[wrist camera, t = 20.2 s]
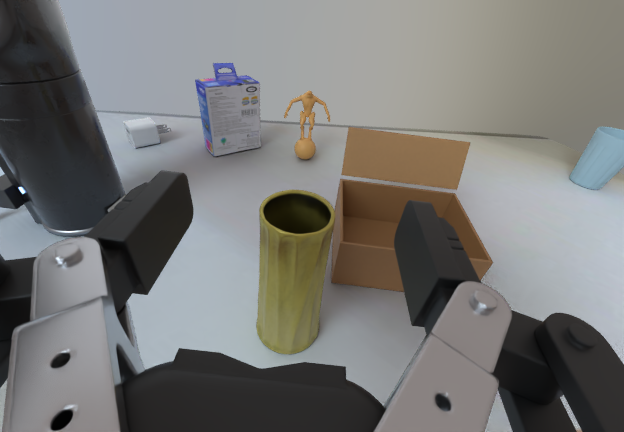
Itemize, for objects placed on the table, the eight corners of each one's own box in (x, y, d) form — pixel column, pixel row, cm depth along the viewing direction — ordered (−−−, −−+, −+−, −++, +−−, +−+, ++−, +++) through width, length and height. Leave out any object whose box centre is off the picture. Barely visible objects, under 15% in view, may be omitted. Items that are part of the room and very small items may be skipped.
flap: (348, 127, 37) (348, 126, 37) (341, 174, 39) (341, 174, 39) (470, 142, 37) (469, 142, 37) (457, 189, 39) (456, 189, 39)
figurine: (282, 161, 54) (284, 95, 47) (283, 147, 59) (285, 84, 52) (326, 164, 55) (335, 99, 48) (323, 150, 60) (332, 89, 52)
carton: (331, 282, 33) (340, 243, 29) (333, 215, 43) (340, 178, 39) (466, 299, 33) (493, 262, 29) (437, 228, 43) (455, 193, 39)
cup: (597, 196, 56) (641, 146, 50) (556, 177, 61) (590, 128, 54) (613, 188, 59) (655, 140, 53) (572, 170, 64) (607, 124, 58)
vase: (309, 364, 26) (332, 251, 17) (245, 343, 27) (235, 226, 18) (324, 307, 31) (348, 196, 22) (270, 291, 32) (272, 178, 23)
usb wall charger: (128, 141, 55) (122, 120, 52) (166, 133, 59) (162, 114, 56) (135, 149, 53) (129, 128, 50) (174, 141, 56) (170, 121, 54)
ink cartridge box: (249, 137, 61) (247, 60, 52) (262, 147, 58) (262, 68, 49) (203, 145, 56) (191, 62, 47) (214, 157, 53) (203, 71, 44)
